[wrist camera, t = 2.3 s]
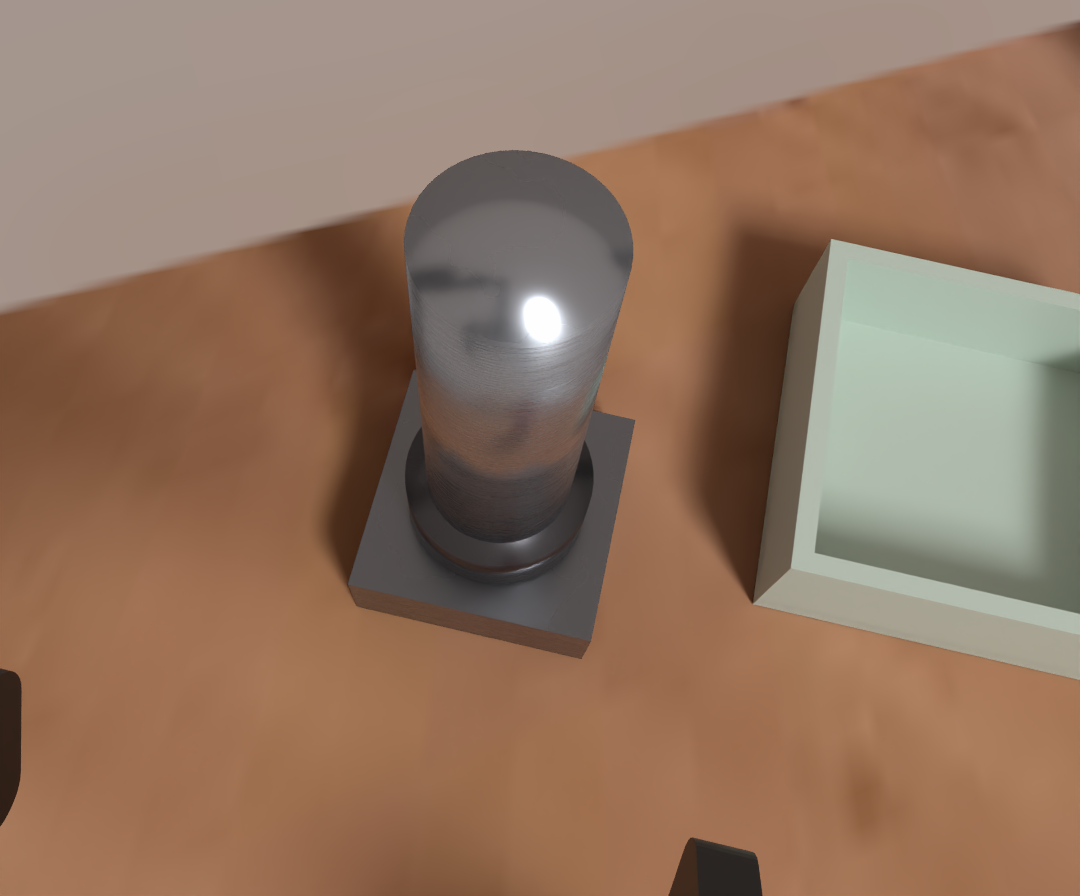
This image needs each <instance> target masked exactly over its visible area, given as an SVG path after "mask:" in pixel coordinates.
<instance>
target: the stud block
mask: <svg viewBox="0 0 1080 896" xmlns="http://www.w3.org/2000/svg"><path fill="white" fill-rule="evenodd" d="M634 424H635V420H632V419H628V418H624V417H619V416H615V415H610V414H606V413H602V412H597V411H593V410H592V414H591V418H590V421H589V425H588V429H587V432H586V436H585V442H586V444H587V447H588V449H589V452H590V456H591V459H592V465H593V472H594V484H593V491H592V497H591V500H590V504H589V507H588V510H587V513H586V516H585V519H584V522H583V525H582V528H581V530H580V533H579V535H578V537H577V539H576V541H575V543H574V544H573V546H572V547H571V549H570V550H569V551H568V553H567V554H566V555H565V556H564V557H563V558H562V559H561V560H560V561H559V562H558V563H557V564H556V565H554V566H553V567H552V568H550V569H549V570H547V571H546V572H544V573H542V574H540V575H538V576H536V577H534V578H531V579H529V580H526V581H522V582H518V583H513V584H504V585H492V584H483V583H477V582H474V581H470V580H467V579H464V578H462V577H460V576H457V575H455V574H453V573H452V572H450V571H449V570H447V569H445V568H444V567H443V566H441V565H440V564H439V563H438V562H436V561H435V560H434V559H433V558H432V557H431V556H430V554H429V553H428V552H427V551H426V550H425V548H424V547H423V545H422V544H421V543H420V541H419V539H418V537H417V535H416V533H415V530H414V527H413V525H412V522H411V517H410V512H409V506H408V499H407V493H406V486H405V467H406V460H407V456H408V452H409V449H410V447H411V444H412V441H413V440H414V438H415V436H416V434H417V432H418V431H419V429H420V428H421V427H422V423H421V413H420V403H419V393H418V383H417V373H416V370H413V373H412V376H411V380H410V383H409V386H408V390H407V393H406V396H405V399H404V403H403V406H402V409H401V412H400V416H399V419H398V422H397V425H396V429H395V432H394V435H393V438H392V442H391V445H390V448H389V451H388V455H387V458H386V461H385V464H384V468H383V471H382V474H381V478H380V481H379V484H378V487H377V491H376V494H375V497H374V500H373V504H372V507H371V510H370V513H369V517H368V520H367V523H366V526H365V530H364V533H363V536H362V539H361V543H360V546H359V549H358V552H357V556H356V559H355V562H354V566H353V569H352V572H351V575H350V579H349V582H348V586H349V589H350V591H351V594H352V596H353V598H354V601H355V603H356V606H358V607H362V608H366V609H371V610H375V611H379V612H383V613H388V614H392V615H396V616H400V617H405V618H409V619H413V620H418V621H422V622H426V623H430V624H435V625H439V626H443V627H447V628H452V629H456V630H460V631H464V632H469V633H473V634H477V635H482V636H486V637H490V638H494V639H499V640H503V641H507V642H511V643H516V644H520V645H524V646H529V647H533V648H537V649H541V650H546V651H550V652H554V653H558V654H563V655H567V656H571V657H575V658H580V659H582V657H583V655H584V653H585V651H586V649H587V648H588V646H589V644H590V642H591V638H592V633H593V628H594V623H595V618H596V613H597V608H598V603H599V598H600V593H601V588H602V583H603V578H604V573H605V568H606V563H607V558H608V553H609V548H610V543H611V538H612V533H613V528H614V523H615V518H616V513H617V508H618V503H619V498H620V493H621V488H622V483H623V478H624V473H625V468H626V463H627V458H628V453H629V448H630V443H631V439H632V434H633V429H634Z"/></svg>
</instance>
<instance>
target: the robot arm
mask: <svg viewBox="0 0 1080 896" xmlns="http://www.w3.org/2000/svg"><path fill="white" fill-rule="evenodd" d="M20 774H21V681H20V678H19V676H18V675H17V674H16V673H15V672H13V671H8V670H4V669H0V826H1V825H2V823H3V822H4V820H5V818H6V816H7V815H8V813H9V811H10V809H11V807H12V804H13V802H14V799H15V797H16V794H17V790H18V787H19V782H20ZM669 896H762V888H761V881H760V873H759V865H758V860H757V857H756V855H755V853H753V852H750V851H746V850H742V849H738V848H734V847H730V846H725V845H721V844H717V843H713V842H709V841H705V840H701V839H696V838H690V839H689V840H688V842H687V844H686V846H685V849H684V851H683V854H682V857H681V860H680V863H679V866H678V869H677V872H676V875H675V878H674V881H673V884H672V887H671V890H670V893H669Z"/></svg>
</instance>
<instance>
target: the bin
mask: <svg viewBox="0 0 1080 896" xmlns="http://www.w3.org/2000/svg"><path fill="white" fill-rule="evenodd" d="M753 604H755V605H759V606H763V607H768V608H772V609H776V610H780V611H785V612H789V613H793V614H798V615H802V616H806V617H811V618H815V619H819V620H824V621H828V622H832V623H837V624H841V625H845V626H849V627H854V628H858V629H862V630H867V631H871V632H875V633H880V634H884V635H888V636H893V637H897V638H901V639H906V640H910V641H914V642H918V643H923V644H927V645H931V646H936V647H940V648H944V649H949V650H953V651H957V652H962V653H966V654H970V655H975V656H979V657H983V658H987V659H992V660H996V661H1000V662H1005V663H1009V664H1013V665H1018V666H1022V667H1026V668H1031V669H1035V670H1039V671H1044V672H1048V673H1052V674H1056V675H1061V676H1065V677H1069V678H1074V679H1078V680H1080V294H1076V293H1072V292H1067V291H1063V290H1058V289H1054V288H1049V287H1045V286H1040V285H1036V284H1031V283H1027V282H1022V281H1018V280H1013V279H1009V278H1004V277H1000V276H995V275H991V274H986V273H982V272H978V271H973V270H969V269H964V268H960V267H955V266H951V265H946V264H942V263H937V262H933V261H928V260H924V259H919V258H915V257H910V256H906V255H901V254H897V253H892V252H888V251H883V250H879V249H874V248H870V247H865V246H861V245H856V244H852V243H847V242H843V241H838V240H834V239H831V240H830V242H829V244H828V246H827V247H826V249H825V251H824V252H823V254H822V256H821V258H820V259H819V261H818V263H817V265H816V266H815V268H814V270H813V272H812V273H811V275H810V277H809V279H808V280H807V282H806V284H805V286H804V287H803V289H802V291H801V293H800V294H799V296H798V298H797V300H796V301H795V303H794V306H793V314H792V321H791V328H790V336H789V343H788V350H787V357H786V365H785V372H784V379H783V387H782V394H781V401H780V409H779V416H778V423H777V431H776V438H775V445H774V453H773V460H772V467H771V475H770V482H769V489H768V497H767V504H766V511H765V519H764V526H763V533H762V541H761V548H760V555H759V562H758V570H757V577H756V584H755V592H754V599H753Z"/></svg>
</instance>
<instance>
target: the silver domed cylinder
mask: <svg viewBox="0 0 1080 896" xmlns="http://www.w3.org/2000/svg"><path fill="white" fill-rule="evenodd" d="M404 251H405V262H406V272H407V282H408V292H409V302H410V313H411V323H412V333H413V343H414V353H415V363H416V373H417V383H418V393H419V403H420V413H421V423H422V427H421V428H420V429H419V431H418V432H417V434H416V436H415V438H414V440H413V441H412V444H411V447H410V449H409V452H408V456H407V460H406V467H405V486H406V493H407V499H408V506H409V512H410V517H411V522H412V525H413V527H414V530H415V533H416V535H417V537H418V539H419V541H420V543H421V544H422V545H423V547H424V548H425V550H426V551H427V552H428V553H429V554H430V556H431V557H432V558H433V559H434V560H435V561H436V562H438V563H439V564H440V565H441V566H443V567H444V568H445V569H447V570H449V571H450V572H452V573H453V574H455V575H457V576H460V577H462V578H464V579H467V580H470V581H474V582H477V583H483V584H492V585H504V584H513V583H518V582H522V581H526V580H529V579H531V578H534V577H536V576H538V575H540V574H542V573H544V572H546V571H547V570H549V569H550V568H552V567H553V566H554V565H556V564H557V563H558V562H559V561H560V560H561V559H562V558H563V557H564V556H565V555H566V554H567V553H568V551H569V550H570V549H571V547H572V546H573V544H574V543H575V541H576V539H577V537H578V535H579V533H580V530H581V528H582V525H583V522H584V519H585V516H586V513H587V510H588V507H589V504H590V500H591V497H592V491H593V484H594V472H593V465H592V459H591V456H590V452H589V449H588V447H587V444H586V442H585V436H586V432H587V429H588V425H589V421H590V418H591V414H592V410H593V407H594V403H595V399H596V396H597V392H598V388H599V385H600V381H601V377H602V374H603V370H604V366H605V363H606V359H607V356H608V352H609V348H610V345H611V341H612V337H613V334H614V330H615V326H616V323H617V319H618V315H619V312H620V308H621V304H622V301H623V297H624V293H625V290H626V286H627V282H628V279H629V275H630V271H631V268H632V260H633V240H632V234H631V230H630V227H629V223H628V220H627V218H626V216H625V214H624V212H623V210H622V208H621V206H620V205H619V203H618V202H617V200H616V199H615V197H614V196H613V195H612V194H611V192H610V191H609V190H608V189H607V188H606V187H605V186H604V185H603V184H602V183H601V182H600V181H599V180H597V179H596V178H595V177H594V176H592V175H591V174H589V173H588V172H587V171H585V170H584V169H582V168H580V167H578V166H576V165H574V164H572V163H570V162H568V161H565V160H563V159H560V158H558V157H554V156H551V155H547V154H543V153H537V152H531V151H518V150H511V151H498V152H491V153H485V154H482V155H478V156H474V157H472V158H469V159H467V160H464V161H461V162H459V163H457V164H456V165H454V166H452V167H450V168H448V169H447V170H445V171H444V172H443V173H441V174H440V175H438V176H437V177H436V178H435V179H434V180H433V181H432V182H431V183H429V184H428V185H427V187H426V188H425V189H424V190H423V191H422V193H421V194H420V195H419V197H418V198H417V200H416V202H415V203H414V205H413V207H412V209H411V212H410V214H409V217H408V220H407V224H406V228H405V236H404Z"/></svg>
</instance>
